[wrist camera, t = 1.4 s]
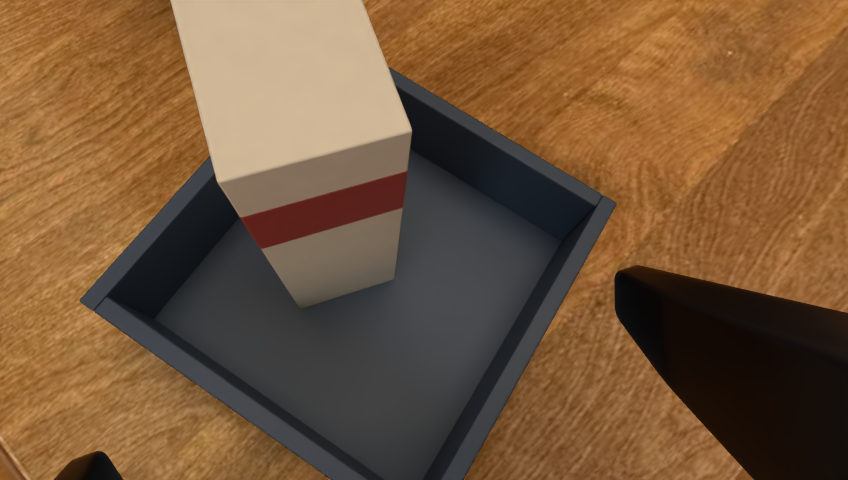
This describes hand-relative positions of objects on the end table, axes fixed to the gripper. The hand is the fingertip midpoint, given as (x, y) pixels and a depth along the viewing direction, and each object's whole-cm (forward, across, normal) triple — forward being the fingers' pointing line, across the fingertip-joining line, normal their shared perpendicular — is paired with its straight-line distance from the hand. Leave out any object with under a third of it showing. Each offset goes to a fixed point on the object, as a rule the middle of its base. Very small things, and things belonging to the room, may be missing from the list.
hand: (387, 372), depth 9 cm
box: (+12, -1, +6) cm, 14 cm away
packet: (+14, 0, +4) cm, 14 cm away
